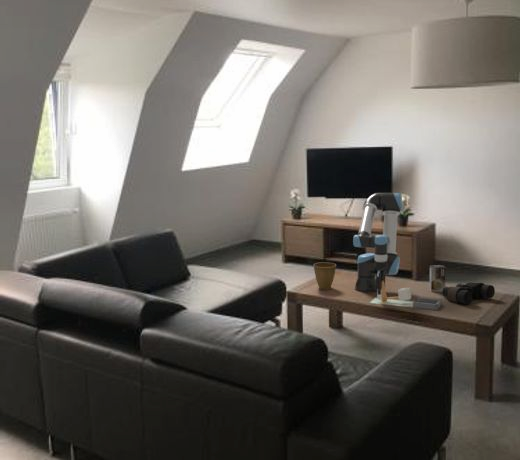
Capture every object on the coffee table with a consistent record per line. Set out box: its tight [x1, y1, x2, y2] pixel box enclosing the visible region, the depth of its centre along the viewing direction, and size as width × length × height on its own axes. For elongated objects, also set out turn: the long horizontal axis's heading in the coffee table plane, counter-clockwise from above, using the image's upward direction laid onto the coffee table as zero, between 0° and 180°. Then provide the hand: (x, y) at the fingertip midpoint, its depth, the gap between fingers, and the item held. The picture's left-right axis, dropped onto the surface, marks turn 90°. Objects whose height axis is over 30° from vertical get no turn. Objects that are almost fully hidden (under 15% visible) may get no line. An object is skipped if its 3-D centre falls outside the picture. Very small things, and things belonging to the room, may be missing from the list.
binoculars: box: [441, 281, 496, 305], centre depth 376 cm, size 29×20×10 cm
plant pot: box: [313, 261, 337, 290], centre depth 409 cm, size 15×15×16 cm
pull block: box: [381, 281, 412, 301], centre depth 371 cm, size 18×6×12 cm, turn 64°
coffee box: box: [428, 264, 446, 293], centre depth 397 cm, size 9×6×16 cm
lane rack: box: [369, 297, 442, 311], centre depth 368 cm, size 40×12×4 cm, turn 63°
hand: (380, 298), depth 375 cm, fingers closed on pull block, 4 cm apart
